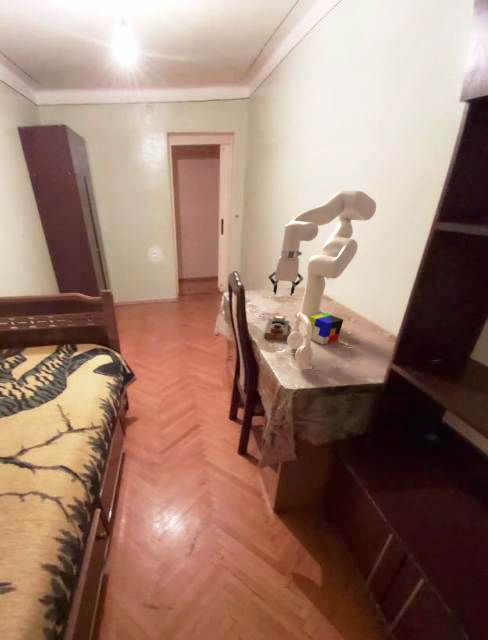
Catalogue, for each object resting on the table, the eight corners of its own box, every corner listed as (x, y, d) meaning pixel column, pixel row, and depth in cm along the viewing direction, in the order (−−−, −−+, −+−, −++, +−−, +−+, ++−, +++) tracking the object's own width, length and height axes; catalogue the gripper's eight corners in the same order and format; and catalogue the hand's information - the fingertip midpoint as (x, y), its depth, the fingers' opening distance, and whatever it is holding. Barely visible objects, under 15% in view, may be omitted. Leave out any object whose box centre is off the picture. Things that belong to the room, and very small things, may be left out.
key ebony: (280, 326, 151) (280, 323, 151) (280, 328, 149) (280, 325, 148) (274, 326, 152) (274, 322, 151) (274, 328, 150) (274, 325, 149)
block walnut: (287, 332, 156) (288, 324, 153) (285, 340, 148) (287, 331, 145) (266, 330, 158) (267, 321, 156) (264, 338, 150) (265, 329, 148)
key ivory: (282, 319, 161) (282, 316, 160) (281, 321, 158) (282, 318, 157) (275, 319, 162) (276, 315, 161) (275, 321, 159) (275, 317, 158)
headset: (284, 348, 141) (291, 308, 131) (300, 348, 141) (308, 308, 131) (294, 369, 124) (303, 326, 114) (312, 370, 124) (323, 326, 114)
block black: (288, 324, 165) (289, 317, 163) (287, 331, 157) (288, 324, 155) (268, 322, 167) (269, 315, 165) (266, 329, 159) (268, 321, 157)
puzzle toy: (322, 344, 144) (327, 323, 138) (306, 336, 151) (310, 316, 146) (337, 340, 148) (343, 319, 142) (321, 333, 155) (326, 313, 150)
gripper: (309, 254, 144) (301, 293, 154) (270, 252, 148) (265, 291, 158) (309, 256, 138) (301, 298, 148) (269, 254, 142) (264, 295, 152)
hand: (283, 294), depth 153 cm, fingers open, 6 cm apart
